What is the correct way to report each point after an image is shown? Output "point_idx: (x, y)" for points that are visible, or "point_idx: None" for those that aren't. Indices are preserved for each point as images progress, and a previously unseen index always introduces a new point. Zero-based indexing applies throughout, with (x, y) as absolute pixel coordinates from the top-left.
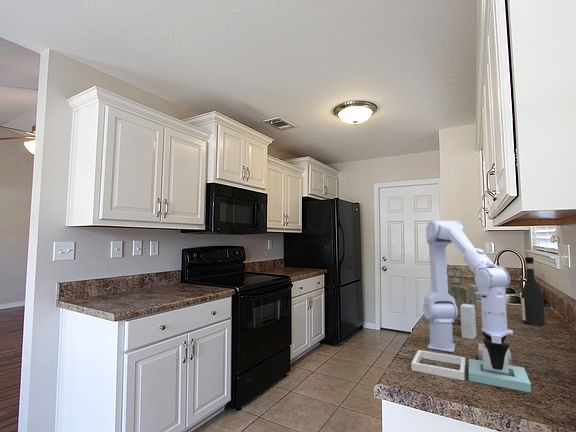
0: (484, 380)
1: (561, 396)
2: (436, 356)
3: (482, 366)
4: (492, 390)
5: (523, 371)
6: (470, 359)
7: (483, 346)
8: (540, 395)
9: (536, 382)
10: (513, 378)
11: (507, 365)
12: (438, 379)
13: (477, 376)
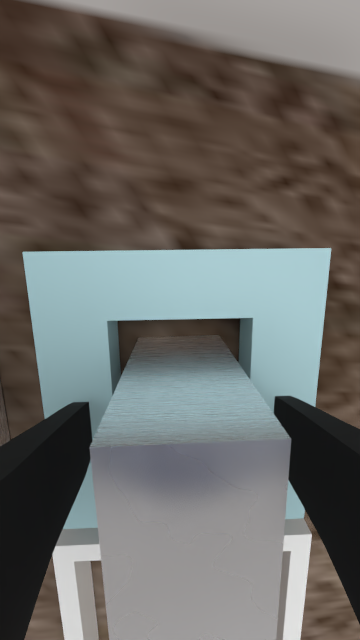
0: None
1: (283, 110)
2: (89, 637)
3: None
4: (353, 402)
5: (114, 263)
6: (71, 522)
7: (242, 634)
8: (319, 213)
9: (133, 205)
10: (284, 328)
11: (241, 372)
12: (327, 575)
13: None
